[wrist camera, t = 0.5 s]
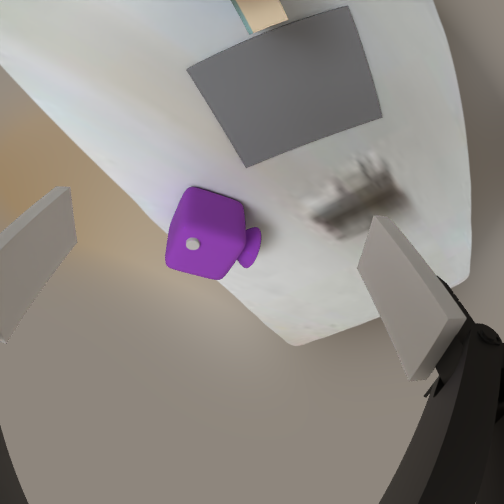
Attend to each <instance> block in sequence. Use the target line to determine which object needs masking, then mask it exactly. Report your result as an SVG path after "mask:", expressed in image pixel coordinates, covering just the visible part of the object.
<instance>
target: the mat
mask: <svg viewBox="0 0 504 504" xmlns="http://www.w3.org/2000/svg"><path fill="white" fill-rule="evenodd" d="M187 72H188V73H189V75H190V76H191V78H192V80H193V81H194V83H195V84H196V86H197V88H198V89H199V91H200V92H201V94H202V96H203V97H204V99H205V100H206V102H207V104H208V105H209V107H210V109H211V110H212V112H213V114H214V115H215V117H216V118H217V120H218V122H219V123H220V125H221V127H222V128H223V130H224V132H225V133H226V135H227V137H228V138H229V140H230V142H231V143H232V145H233V147H234V148H235V150H236V152H237V153H238V155H239V157H240V158H241V160H242V162H243V163H244V165H245V167H246V168H247V167H249V166H252V165H254V164H257V163H259V162H262V161H264V160H267V159H269V158H271V157H274V156H276V155H279V154H282V153H284V152H287V151H289V150H292V149H294V148H297V147H300V146H302V145H305V144H308V143H310V142H313V141H316V140H318V139H321V138H324V137H326V136H329V135H332V134H335V133H338V132H340V131H343V130H346V129H349V128H352V127H355V126H358V125H361V124H364V123H367V122H370V121H373V120H376V119H379V118H382V113H381V109H380V105H379V101H378V98H377V94H376V90H375V86H374V83H373V79H372V76H371V73H370V69H369V66H368V63H367V59H366V56H365V53H364V50H363V47H362V44H361V41H360V38H359V35H358V32H357V29H356V27H355V24H354V21H353V18H352V16H351V13H350V10H349V8H348V6H345V7H341V8H337V9H334V10H330V11H327V12H323V13H320V14H317V15H314V16H311V17H307V18H304V19H301V20H298V21H296V22H293V23H290V24H287V25H284V26H281V27H279V28H276V29H273V30H271V31H268V32H266V33H263V34H261V35H258V36H256V37H253V38H251V39H249V40H246V41H244V42H242V43H239V44H237V45H235V46H233V47H230V48H228V49H226V50H224V51H222V52H220V53H217V54H215V55H213V56H211V57H209V58H207V59H205V60H203V61H201V62H199V63H197V64H195V65H193V66H191V67H189V68H188V69H187Z"/></svg>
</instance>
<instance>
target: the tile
mask: <svg viewBox="0 0 504 504" xmlns="http://www.w3.org/2000/svg"><path fill="white" fill-rule="evenodd" d="M231 2H232V3H233V5H234V7H235V9H236V11H237V12H238V14H239V16H240V18H241V20H242V21H243V23H244V25H245V27H246V29H247V31H248V33H249V34H252V33H255V32H257V31H260V30H262V29H265V28H267V27H270V26H273V25H275V24H278V23H281V22H283V21H286V20H289V19H288V17H287V15H286V13H285V11H284V9H283V7H282V5H281V3H280V1H279V0H231Z"/></svg>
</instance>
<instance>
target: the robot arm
mask: <svg viewBox="0 0 504 504" xmlns="http://www.w3.org/2000/svg"><path fill="white" fill-rule="evenodd" d="M76 243H77V237H76V230H75V223H74V216H73V208H72V199H71V189H70V187H59V186H57V187H55V188H54V189H52V190H51V191H50V192H49V193H47V194H46V195H45V196H43V197H42V198H41V199H40V200H38V201H37V202H36V203H35V204H34V205H32V206H31V207H30V208H29V209H28V210H26V211H25V212H24V213H23V214H22V215H20V216H19V217H18V218H17V219H16V220H15V221H14V222H12V223H11V224H10V225H9V226H8V227H7V228H6V229H5V230H3V232H1V233H0V342H2V343H6V344H7V342H8V340H9V339H10V337H11V335H12V334H13V332H14V331H15V329H16V327H17V326H18V324H19V323H20V321H21V319H22V318H23V316H24V315H25V313H26V312H27V310H28V309H29V307H30V306H31V304H32V303H33V302H34V300H35V298H36V297H37V296H38V294H39V293H40V291H41V290H42V289H43V287H44V286H45V284H46V283H47V282H48V280H49V279H50V277H51V276H52V275H53V273H54V272H55V271H56V269H57V268H58V267H59V265H60V264H61V263H62V261H63V260H64V259H65V257H66V256H67V255H68V253H69V252H70V251H71V250H72V248H73V247H74V246H75V245H76ZM357 269H358V271H359V273H360V275H361V277H362V279H363V281H364V283H365V285H366V287H367V289H368V291H369V293H370V295H371V297H372V300H373V302H374V304H375V306H376V308H377V310H378V312H379V314H380V317H381V319H382V321H383V323H384V325H385V327H386V329H387V332H388V334H389V336H390V338H391V341H392V343H393V345H394V347H395V350H396V352H397V355H398V356H399V359H400V362H401V364H402V366H403V369H404V371H405V374H406V376H407V378H408V381H418V380H426V379H427V378H428V377H429V376H430V374H431V373H432V371H433V370H434V368H435V367H436V369H437V371H438V373H439V377H438V378H437V379H436V380H435V382H434V383H433V384H432V386H431V387H430V389H429V390H428V391H427V392H426V394H425V395H424V397H427V396H428V395H429V394H430V396H429V398H428V401H427V404H426V406H425V409H424V411H423V414H422V416H421V419H420V421H419V424H418V426H417V429H416V431H415V433H414V436H413V438H412V440H411V442H410V444H409V447H408V449H407V451H406V453H405V455H404V457H403V459H402V461H401V463H400V465H399V468H398V469H397V471H396V474H395V475H394V477H393V479H392V481H391V483H390V485H389V486H388V488H387V490H386V492H385V494H384V495H383V497H382V499H381V501H380V502H379V504H475V502H476V504H504V343H502V341H501V339H500V337H499V335H498V334H497V333H496V332H495V331H494V330H493V329H492V328H490V327H489V326H487V325H484V324H478V323H477V324H475V322H474V321H473V319H472V318H471V317H470V315H469V314H468V312H467V311H466V309H465V308H464V306H463V305H462V304H461V302H459V301H458V300H459V299H458V298H457V297H456V295H455V294H453V291H452V290H451V289H450V287H449V286H448V284H447V283H445V282H444V281H443V280H442V279H441V278H439V277H438V276H436V275H435V273H434V272H433V271H432V269H431V268H430V267H429V265H428V264H427V263H426V262H425V260H424V259H423V258H422V256H421V255H420V254H419V253H418V251H417V250H416V249H415V248H414V246H413V245H412V244H411V243H410V242H409V240H408V239H407V238H406V237H405V235H404V234H403V233H402V232H401V231H400V229H399V228H398V227H397V226H396V225H395V224H394V222H393V221H392V220H391V219H390V218H389V217H385V216H379V215H374V216H373V219H372V223H371V226H370V229H369V233H368V236H367V239H366V242H365V245H364V249H363V252H362V255H361V258H360V261H359V264H358V267H357ZM0 504H28V502H27V499H26V497H25V495H24V493H23V490H22V488H21V485H20V483H19V481H18V478H17V475H16V473H15V470H14V467H13V464H12V461H11V459H10V456H9V453H8V450H7V447H6V443H5V440H4V437H3V433H2V430H1V426H0Z"/></svg>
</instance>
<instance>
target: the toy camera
mask: <svg viewBox="0 0 504 504" xmlns="http://www.w3.org/2000/svg"><path fill="white" fill-rule="evenodd" d="M260 244H261V231H260V229H259V228H258V227H253V228H250V229H247V230H246V227H245V215H244V208H243V206H242V204H241V203H240V202H238V201H236V200H233V199H230V198H227V197H225V196H222V195H218V194H215V193H212V192H209V191H206V190H203V189H200V188H196V187H189V188H188V189H187V190H186V191H185V192H184V194H183V196H182V198H181V200H180V202H179V204H178V207H177V209H176V211H175V214H174V216H173V219H172V221H171V224H170V228H169V233H168V240H167V247H166V254H165V261H166V265H167V266H168V267H169V268H172V269H175V270H178V271H182V272H185V273H189V274H193V275H197V276H201V277H205V278H209V279H214V280H220V279H222V278H223V277H224V276H225V275H226V274H227V273H228V271H229V270H230V268H231V267H232V266H233V264H234V263H235V261H236V260H238V261H239V263H240V264H241V265H242V266H243V267H244V268H248V267H250V266H251V265H252V264H253V263H254V261H255V259H256V257H257V255H258V252H259V249H260Z"/></svg>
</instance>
